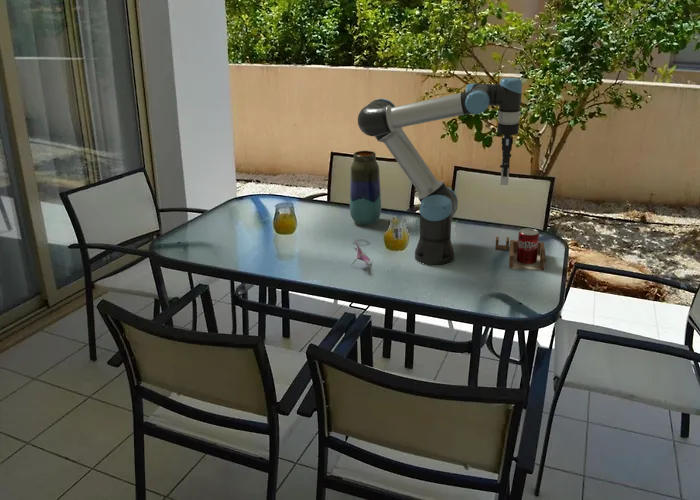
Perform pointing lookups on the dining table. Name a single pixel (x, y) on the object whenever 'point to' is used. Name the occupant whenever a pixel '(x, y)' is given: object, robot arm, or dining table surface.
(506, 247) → the clip
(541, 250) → the end holder
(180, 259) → the dining table surface
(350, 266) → the dining table surface
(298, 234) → the dining table surface
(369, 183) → the vase
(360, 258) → the lily
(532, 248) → the soda can
